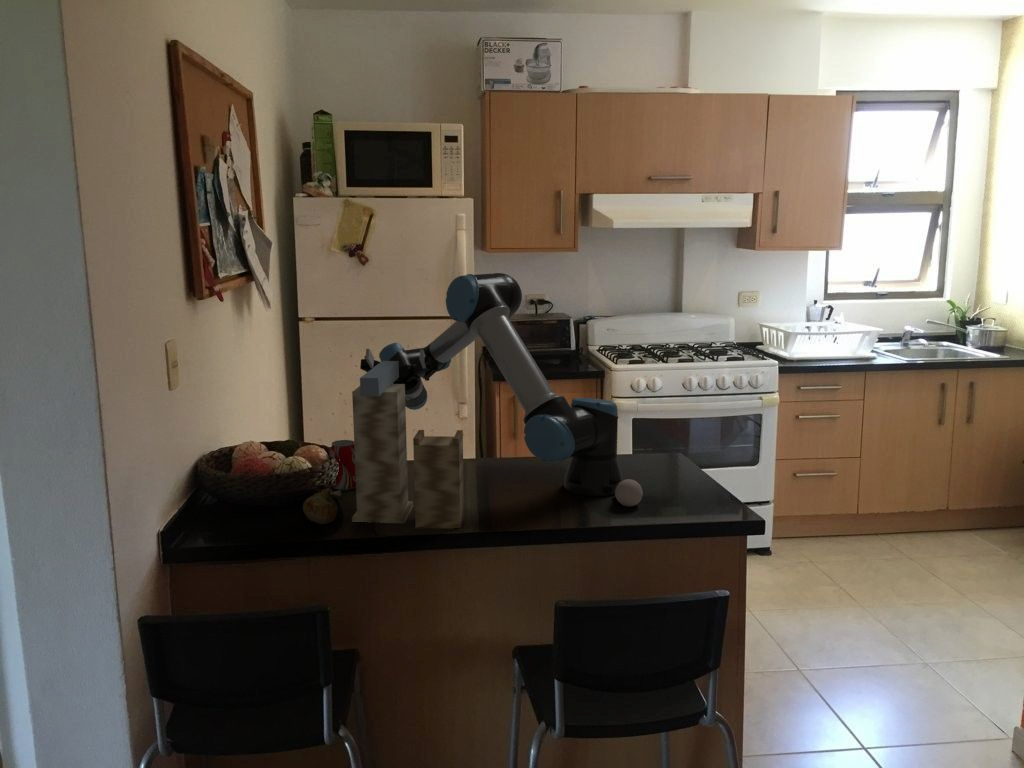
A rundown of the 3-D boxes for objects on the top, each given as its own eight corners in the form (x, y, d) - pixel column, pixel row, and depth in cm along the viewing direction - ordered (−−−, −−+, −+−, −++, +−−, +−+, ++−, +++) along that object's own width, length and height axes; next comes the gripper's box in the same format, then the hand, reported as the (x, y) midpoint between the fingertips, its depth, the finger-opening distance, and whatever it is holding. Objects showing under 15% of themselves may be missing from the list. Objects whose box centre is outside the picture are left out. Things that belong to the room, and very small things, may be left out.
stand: (413, 506, 200) (409, 383, 195) (404, 523, 188) (400, 393, 183) (363, 505, 201) (358, 383, 195) (352, 522, 189) (346, 392, 184)
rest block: (464, 516, 193) (462, 430, 189) (460, 528, 185) (458, 438, 181) (421, 515, 193) (418, 429, 190) (415, 528, 185) (413, 438, 182)
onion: (314, 515, 194) (313, 482, 193) (345, 518, 192) (343, 485, 190) (296, 526, 187) (295, 492, 186) (328, 530, 185) (326, 495, 183)
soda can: (352, 492, 211) (350, 446, 209) (326, 491, 212) (324, 445, 210) (362, 484, 218) (361, 439, 216) (337, 483, 219) (335, 438, 217)
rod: (398, 377, 203) (398, 361, 202) (378, 396, 179) (378, 378, 179) (382, 377, 203) (382, 361, 202) (360, 396, 180) (359, 378, 179)
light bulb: (607, 477, 207) (621, 477, 196) (632, 480, 208) (648, 481, 197) (604, 503, 206) (618, 505, 195) (629, 507, 207) (645, 509, 196)
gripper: (451, 395, 227) (443, 368, 207) (361, 394, 228) (343, 367, 208) (453, 369, 229) (444, 340, 209) (363, 368, 230) (346, 339, 210)
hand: (394, 353), depth 208 cm, fingers open, 13 cm apart
